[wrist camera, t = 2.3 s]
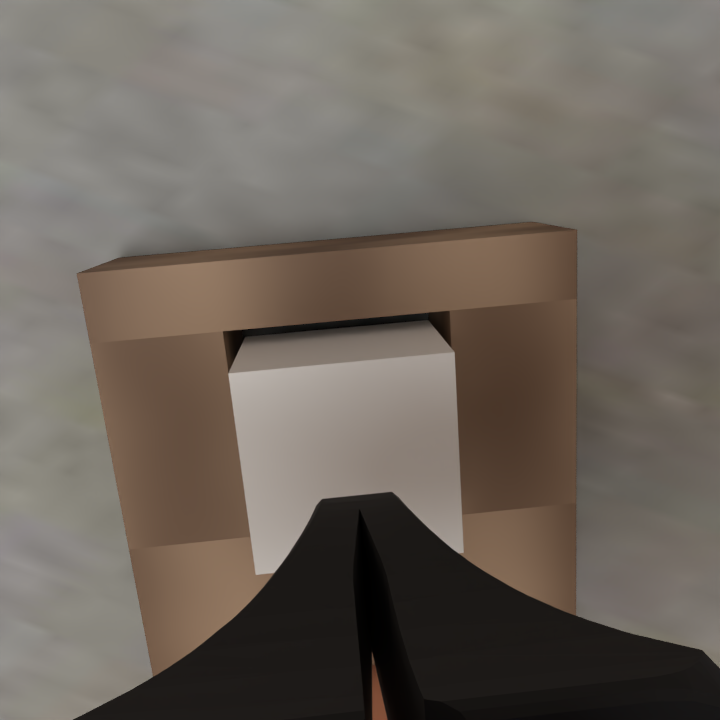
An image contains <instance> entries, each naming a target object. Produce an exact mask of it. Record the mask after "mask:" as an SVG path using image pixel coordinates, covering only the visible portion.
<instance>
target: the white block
mask: <svg viewBox="0 0 720 720" xmlns="http://www.w3.org/2000/svg"><path fill="white" fill-rule="evenodd" d="M228 375H229V383H230V390H231V397H232V405H233V412H234V419H235V427H236V434H237V441H238V449H239V456H240V463H241V471H242V478H243V485H244V492H245V500H246V507H247V514H248V522H249V529H250V536H251V544H252V551H253V558H254V566H255V573H256V575H260V574H269V573H275V571H276V570H277V569H278V568H279V566H280V565H281V564H282V562H283V561H284V560H285V558H286V557H287V555H288V554H289V552H290V551H291V549H292V548H293V546H294V545H295V543H296V542H297V540H298V539H299V537H300V535H301V534H302V532H303V530H304V529H305V527H306V525H307V523H308V522H309V520H310V518H311V516H312V514H313V512H314V509H315V507H316V505H317V504H318V503H319V502H320V501H321V499H325V498H335V497H345V496H355V495H365V494H374V493H384V492H393V493H394V494H395V495H397V496H398V497H399V498H400V499H401V501H402V502H403V503H404V504H405V505H406V506H407V507H408V508H409V509H410V510H411V511H412V512H413V513H414V514H415V515H416V516H417V517H418V518H419V519H420V520H421V521H422V522H423V523H424V524H425V525H426V526H427V527H428V528H429V529H430V530H431V531H432V532H434V533H435V534H436V535H437V536H438V537H439V538H440V539H441V540H443V541H444V542H445V543H446V544H447V545H448V546H450V547H451V548H452V549H453V550H455V551H456V552H457V553H464V549H463V526H462V504H461V482H460V460H459V438H458V416H457V394H456V372H455V352H454V351H453V350H452V348H451V347H450V346H449V345H448V344H447V342H446V341H445V340H444V339H443V337H442V336H441V335H440V334H439V333H438V331H437V330H436V329H435V328H434V327H433V325H432V324H431V323H430V322H429V320H422V321H411V322H400V323H390V324H379V325H368V326H357V327H346V328H335V329H324V330H314V331H303V332H292V333H281V334H270V335H259V336H248V337H245V338H244V341H243V343H242V345H241V347H240V349H239V351H238V354H237V356H236V358H235V360H234V362H233V364H232V366H231V369H230V371H229V373H228Z"/></svg>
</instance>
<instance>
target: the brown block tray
mask: <svg viewBox="0 0 720 720" xmlns="http://www.w3.org/2000/svg"><path fill="white" fill-rule="evenodd" d="M77 278H78V283H79V288H80V293H81V299H82V304H83V309H84V314H85V320H86V325H87V330H88V336H89V341H90V346H91V351H92V357H93V362H94V367H95V372H96V378H97V383H98V388H99V393H100V399H101V404H102V409H103V415H104V420H105V425H106V430H107V436H108V441H109V446H110V451H111V457H112V462H113V467H114V473H115V478H116V483H117V488H118V494H119V499H120V504H121V509H122V515H123V520H124V525H125V530H126V536H127V541H128V546H129V552H130V557H131V562H132V567H133V573H134V578H135V583H136V588H137V594H138V599H139V604H140V610H141V615H142V620H143V625H144V631H145V636H146V641H147V646H148V652H149V657H150V662H151V667H152V673H153V677H154V676H155V675H157V674H159V673H160V672H162V671H163V670H165V669H167V668H168V667H170V666H171V665H173V664H174V663H176V662H177V661H179V660H180V659H182V658H183V657H185V656H186V655H187V654H189V653H190V652H192V651H193V650H194V649H196V648H197V647H198V646H200V645H201V644H202V643H203V642H205V641H206V640H207V639H208V638H209V637H211V636H212V635H213V634H214V633H216V632H217V631H218V630H219V629H221V628H222V627H223V626H224V625H226V624H227V623H228V622H229V621H230V620H232V619H233V618H234V617H235V616H236V615H237V614H238V613H239V612H240V611H241V610H242V609H243V608H244V607H245V606H246V605H247V604H248V603H249V602H250V601H251V600H252V599H253V598H254V597H255V596H256V595H257V594H258V593H259V591H260V590H261V589H262V588H263V587H264V586H265V584H266V583H267V582H268V581H269V579H270V578H271V577H272V575H273V574H274V573H269V574H260V575H256V573H255V566H254V558H253V551H252V544H251V536H250V529H249V522H248V514H247V507H246V500H245V492H244V485H243V478H242V471H241V463H240V456H239V449H238V441H237V434H236V427H235V419H234V412H233V405H232V397H231V390H230V383H229V375H228V373H229V371H230V369H231V366H232V364H233V362H234V360H235V358H236V356H237V354H238V351H239V349H240V347H241V345H242V343H243V336H242V330H243V329H254V328H265V327H276V326H287V325H298V324H309V323H320V322H331V321H341V320H352V319H363V318H374V317H385V316H396V315H407V314H418V313H429V322H430V323H431V324H432V325H433V327H434V328H435V329H436V330H437V331H438V333H439V334H440V335H441V336H442V337H443V339H444V340H445V341H446V342H447V344H448V345H449V346H450V347H451V348H452V350H453V351H454V352H455V372H456V394H457V416H458V438H459V460H460V482H461V504H462V526H463V549H464V553H459V554H460V555H461V556H463V557H464V558H466V559H467V560H468V561H470V562H471V563H472V564H474V565H475V566H477V567H479V568H480V569H482V570H483V571H485V572H486V573H488V574H490V575H492V576H493V577H495V578H497V579H498V580H500V581H502V582H504V583H505V584H507V585H509V586H511V587H512V588H514V589H516V590H518V591H520V592H522V593H524V594H526V595H528V596H530V597H533V598H535V599H537V600H539V601H542V602H544V603H546V604H548V605H551V606H553V607H555V608H557V609H560V610H562V611H565V612H567V613H570V614H573V615H575V616H576V402H577V230H575V229H569V228H564V227H558V226H552V225H547V224H541V223H535V222H526V223H514V224H503V225H491V226H480V227H468V228H457V229H445V230H433V231H422V232H410V233H399V234H387V235H376V236H364V237H353V238H341V239H330V240H318V241H307V242H295V243H284V244H272V245H261V246H249V247H237V248H226V249H214V250H203V251H191V252H180V253H168V254H157V255H145V256H134V257H122V258H117V259H114V260H112V261H109V262H106V263H104V264H101V265H98V266H96V267H93V268H90V269H88V270H85V271H82V272H80V273H77ZM374 664H375V662H374V658H373V653H372V665H374Z"/></svg>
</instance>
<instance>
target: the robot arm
mask: <svg viewBox="0 0 720 720" xmlns="http://www.w3.org/2000/svg"><path fill="white" fill-rule="evenodd" d="M372 653H373V658H374V662H375V667H376V671H377V676H378V680H379V685H380V689H381V693H382V698H383V702H384V706H385V711H386V715H387V720H720V668H719V667H718V666H717V665H716V664H715V663H714V662H713V661H712V660H711V659H710V658H709V657H708V656H707V655H706V654H705V653H704V652H703V651H702V650H699V649H695V648H690V647H686V646H682V645H677V644H673V643H669V642H664V641H660V640H656V639H651V638H647V637H643V636H639V635H634V634H630V633H627V632H623V631H620V630H617V629H614V628H611V627H608V626H605V625H601V624H598V623H595V622H592V621H589V620H586V619H583V618H581V617H578V616H575V615H573V614H570V613H567V612H565V611H562V610H560V609H557V608H555V607H553V606H551V605H548V604H546V603H544V602H542V601H539V600H537V599H535V598H533V597H530V596H528V595H526V594H524V593H522V592H520V591H518V590H516V589H514V588H512V587H511V586H509V585H507V584H505V583H504V582H502V581H500V580H498V579H497V578H495V577H493V576H492V575H490V574H488V573H486V572H485V571H483V570H482V569H480V568H479V567H477V566H475V565H474V564H472V563H471V562H470V561H468V560H467V559H466V558H464V557H463V556H461V555H460V554H459V553H457V552H456V551H455V550H453V549H452V548H451V547H450V546H448V545H447V544H446V543H445V542H444V541H443V540H441V539H440V538H439V537H438V536H437V535H436V534H435V533H434V532H432V531H431V530H430V529H429V528H428V527H427V526H426V525H425V524H424V523H423V522H422V521H421V520H420V519H419V518H418V517H417V516H416V515H415V514H414V513H413V512H412V511H411V510H410V509H409V508H408V507H407V506H406V505H405V504H404V503H403V502H402V501H401V499H400V498H399V497H398V496H397V495H395V494H394V493H393V492H384V493H374V494H365V495H355V496H345V497H335V498H325V499H321V501H320V502H319V503H318V504H317V505H316V507H315V509H314V512H313V514H312V516H311V518H310V520H309V522H308V523H307V525H306V527H305V529H304V530H303V532H302V534H301V535H300V537H299V539H298V540H297V542H296V543H295V545H294V546H293V548H292V549H291V551H290V552H289V554H288V555H287V557H286V558H285V560H284V561H283V562H282V564H281V565H280V566H279V568H278V569H277V570H276V571H275V573H274V574H273V575H272V577H271V578H270V579H269V581H268V582H267V583H266V584H265V586H264V587H263V588H262V589H261V590H260V591H259V593H258V594H257V595H256V596H255V597H254V598H253V599H252V600H251V601H250V602H249V603H248V604H247V605H246V606H245V607H244V608H243V609H242V610H241V611H240V612H239V613H238V614H237V615H236V616H235V617H234V618H233V619H232V620H230V621H229V622H228V623H227V624H226V625H224V626H223V627H222V628H221V629H219V630H218V631H217V632H216V633H214V634H213V635H212V636H211V637H209V638H208V639H207V640H206V641H205V642H203V643H202V644H201V645H200V646H198V647H197V648H196V649H194V650H193V651H192V652H190V653H189V654H187V655H186V656H185V657H183V658H182V659H180V660H179V661H177V662H176V663H174V664H173V665H171V666H170V667H168V668H167V669H165V670H163V671H162V672H160V673H159V674H157V675H155V676H154V677H152V678H151V679H149V680H147V681H146V682H144V683H142V684H141V685H139V686H137V687H135V688H134V689H132V690H130V691H128V692H126V693H124V694H122V695H121V696H119V697H117V698H115V699H113V700H111V701H109V702H107V703H105V704H103V705H101V706H99V707H97V708H95V709H93V710H91V711H89V712H88V713H86V714H84V715H82V716H80V717H78V718H75V719H73V720H372Z"/></svg>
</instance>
